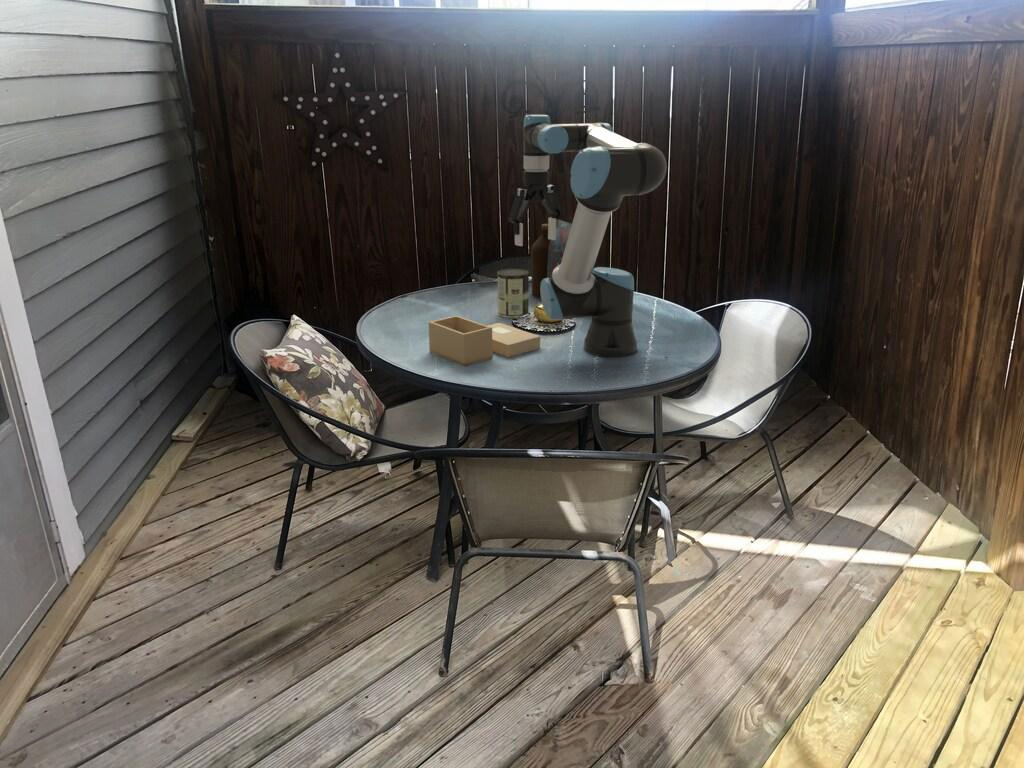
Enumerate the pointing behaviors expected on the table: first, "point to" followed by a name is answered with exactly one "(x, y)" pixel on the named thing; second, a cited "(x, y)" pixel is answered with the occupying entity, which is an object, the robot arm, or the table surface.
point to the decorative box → (558, 246)
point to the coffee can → (513, 293)
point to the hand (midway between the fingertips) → (535, 242)
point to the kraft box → (460, 340)
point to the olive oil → (539, 260)
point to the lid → (512, 340)
